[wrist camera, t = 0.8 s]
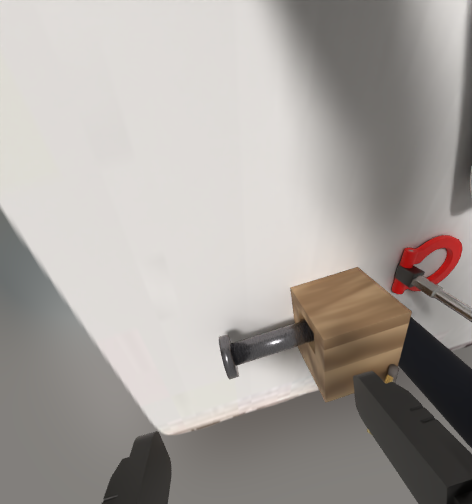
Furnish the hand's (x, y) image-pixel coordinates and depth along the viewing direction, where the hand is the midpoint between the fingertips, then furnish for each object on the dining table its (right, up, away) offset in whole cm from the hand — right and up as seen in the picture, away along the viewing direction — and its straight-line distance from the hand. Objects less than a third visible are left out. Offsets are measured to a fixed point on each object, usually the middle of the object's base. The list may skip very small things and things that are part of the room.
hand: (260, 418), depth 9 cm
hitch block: (+11, -2, +22) cm, 25 cm away
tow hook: (+25, +5, +22) cm, 33 cm away
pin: (+3, -3, +19) cm, 20 cm away
